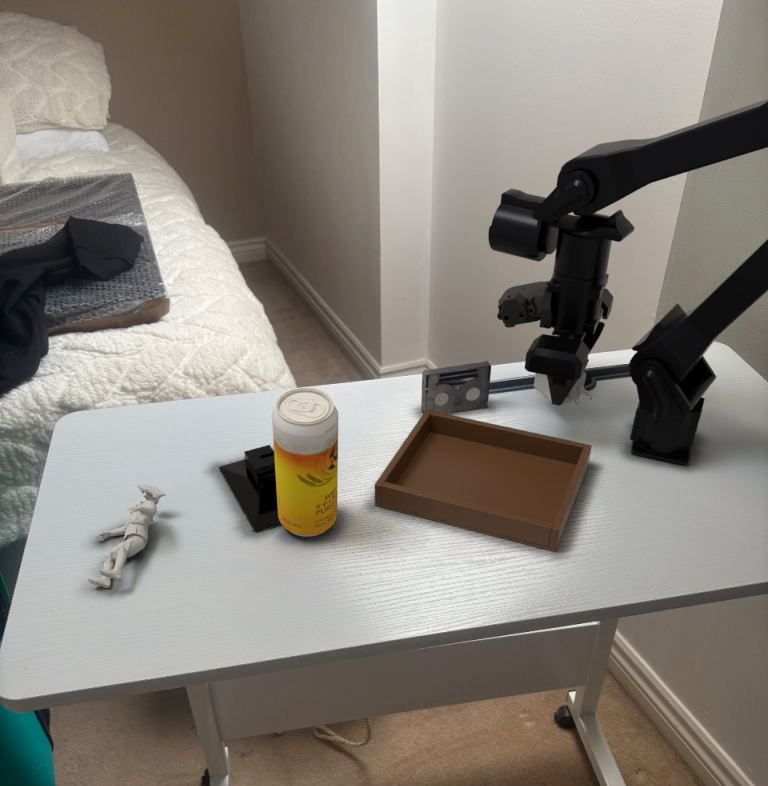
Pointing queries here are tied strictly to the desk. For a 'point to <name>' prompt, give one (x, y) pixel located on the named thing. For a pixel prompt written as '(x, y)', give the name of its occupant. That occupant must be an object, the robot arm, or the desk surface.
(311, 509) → the beer can
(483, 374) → the mini dv tape
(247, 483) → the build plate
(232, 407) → the desk surface
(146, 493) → the soldier figure
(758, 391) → the desk surface
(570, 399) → the usb wall charger
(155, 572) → the desk surface
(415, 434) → the tray
